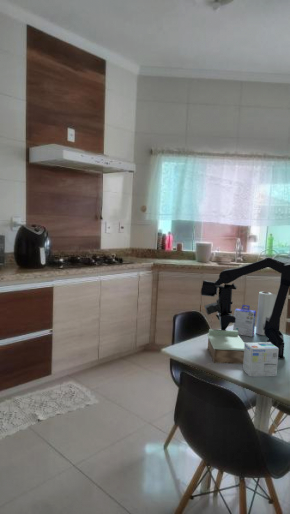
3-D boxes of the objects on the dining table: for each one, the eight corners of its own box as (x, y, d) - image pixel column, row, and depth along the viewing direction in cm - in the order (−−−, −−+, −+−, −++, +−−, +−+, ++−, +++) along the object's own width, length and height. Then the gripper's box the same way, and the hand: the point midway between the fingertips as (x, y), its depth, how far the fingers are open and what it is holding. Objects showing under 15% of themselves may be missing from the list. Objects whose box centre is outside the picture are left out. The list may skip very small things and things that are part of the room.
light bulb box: (268, 368, 132) (270, 341, 131) (277, 376, 125) (279, 348, 124) (241, 369, 130) (243, 341, 129) (249, 377, 124) (251, 348, 122)
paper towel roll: (253, 332, 175) (256, 291, 173) (262, 331, 178) (265, 291, 175) (263, 337, 169) (267, 294, 166) (272, 336, 171) (276, 293, 169)
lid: (238, 336, 151) (238, 330, 151) (248, 350, 135) (249, 344, 134) (207, 335, 151) (207, 329, 151) (214, 349, 135) (214, 342, 135)
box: (237, 349, 151) (238, 338, 150) (247, 364, 135) (248, 352, 134) (207, 347, 151) (208, 336, 150) (214, 362, 135) (215, 350, 134)
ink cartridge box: (254, 334, 173) (256, 306, 171) (252, 337, 168) (255, 308, 166) (234, 330, 177) (236, 303, 175) (232, 333, 172) (234, 305, 170)
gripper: (203, 292, 160) (201, 325, 162) (209, 302, 141) (207, 338, 143) (227, 293, 160) (225, 326, 161) (237, 303, 141) (234, 340, 143)
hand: (222, 332), depth 152 cm, fingers closed
